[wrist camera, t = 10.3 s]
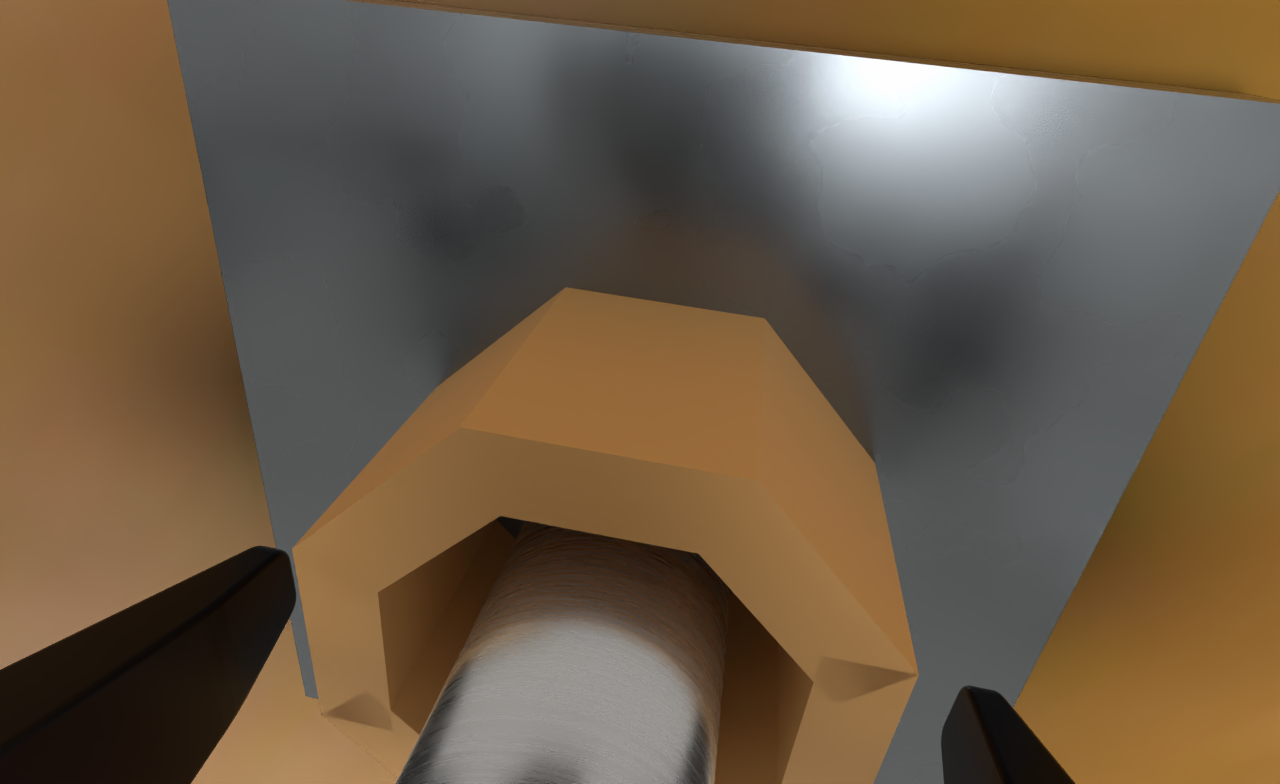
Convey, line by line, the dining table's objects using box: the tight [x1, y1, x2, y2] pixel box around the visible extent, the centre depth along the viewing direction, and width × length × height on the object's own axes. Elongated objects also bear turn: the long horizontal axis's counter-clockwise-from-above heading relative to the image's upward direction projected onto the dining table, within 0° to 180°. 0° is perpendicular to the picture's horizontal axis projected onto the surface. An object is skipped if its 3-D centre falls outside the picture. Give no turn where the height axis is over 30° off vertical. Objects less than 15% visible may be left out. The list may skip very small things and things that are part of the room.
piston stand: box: [167, 0, 1280, 784], centre depth 10 cm, size 14×14×8 cm
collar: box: [292, 287, 919, 784], centre depth 10 cm, size 7×7×4 cm
